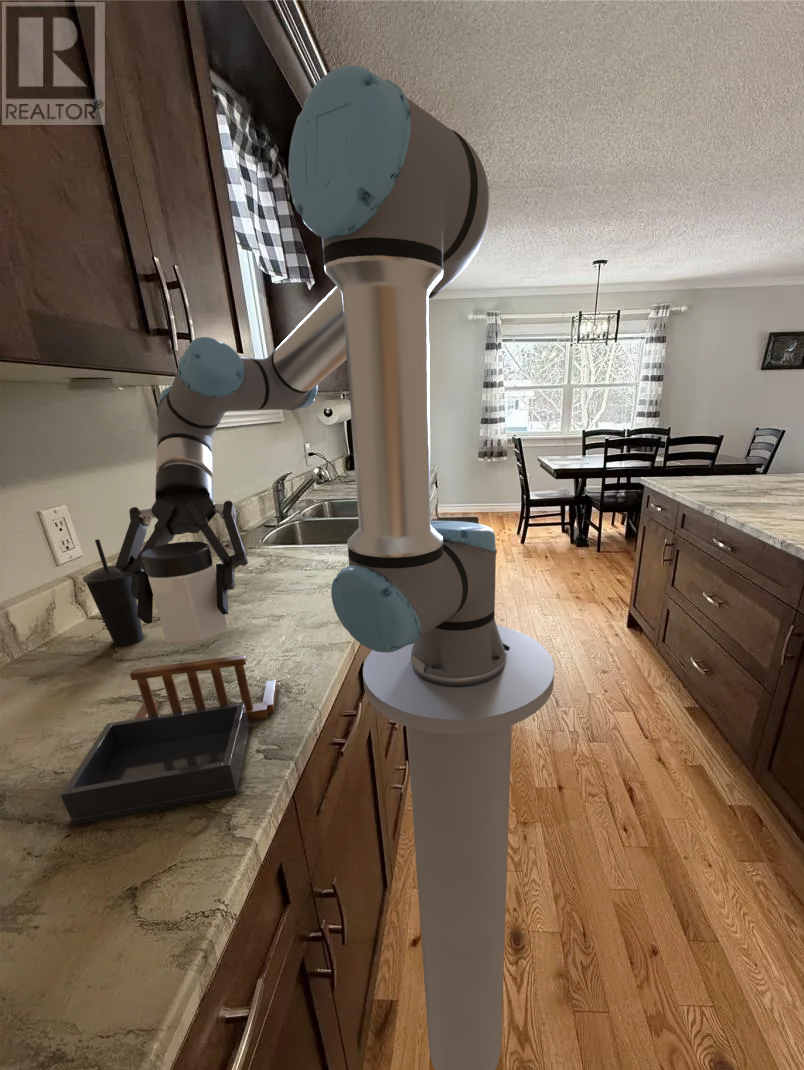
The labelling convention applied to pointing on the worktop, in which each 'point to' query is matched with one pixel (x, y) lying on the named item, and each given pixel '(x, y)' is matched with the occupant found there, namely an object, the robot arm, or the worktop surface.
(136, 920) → the worktop surface
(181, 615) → the jar
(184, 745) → the rectangular tray
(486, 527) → the robot arm
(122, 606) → the drinking cup
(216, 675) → the drying rack
